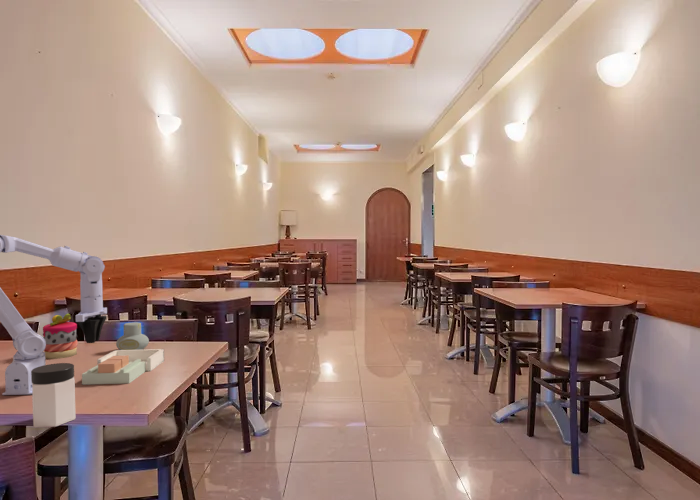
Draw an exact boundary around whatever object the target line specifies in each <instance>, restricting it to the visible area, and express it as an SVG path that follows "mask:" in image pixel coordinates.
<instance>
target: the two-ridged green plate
mask: <svg viewBox="0 0 700 500" xmlns="http://www.w3.org/2000/svg"><path fill="white" fill-rule="evenodd" d="M145 372H147V371H146V362H141V359H136V360H135V361H133V362H129V364H127V365H126V366H124V367H123V368H121V369H120V370H118V371H116V372H115V373H98V365H95V366H93V367H91V368H89V369H88V370H87V371H85V372H82V373H81V385H84V386H85V385H108V384H109V385H111V384H113V385H114V384H115V385H116V384H120V385H121V384H131V383H132V382H133V381H135V380H136V379H137V378H139V377H140V376H141V375H143V374H145Z"/></svg>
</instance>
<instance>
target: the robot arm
mask: <svg viewBox="0 0 700 500" xmlns="http://www.w3.org/2000/svg"><path fill="white" fill-rule="evenodd" d="M14 252H18V253H22V254H26V255H31V256H34V257H39V258H42V259H46V260H48V261H49V263H50V264H51V266H54V267H57V268H61V269H65V270H68V271H72V272H76V273H77V272H79V273H80V282H79V285H80V288H79V289H80V312H78V314H76V315H75V323H77V325H78V326H79V328H80V329H81V331H82V332H83V337H84V340H85V342H86V343H87V344H95V343H96V342H99V341H100V337H101V335H102V334H101V333H102V329H103V326H104V323H105V322H106V320H107V316H106V315H107V314H108V307H106V306H105V307H104V301H103V299H104V298H103V292H104V291H103V273H104V271H105V268H106V265H105V264H104V261H103V259H101V258H100V257H99V256H97V255H96V256H95V255H90V254H89V253H88V252H86V251H83V252H80V251H78V250H74V249H71V246H68V245H64V246H58V247H55V248H50V247H47V246H44V245H41V244H37V243H35V242H32V241H29V240H26V239H24V238H23V239H22V238H20V237H16V236H10V235H4V234H0V253H5V254H6V253H14ZM0 323H1V325H2V326H3V327H4V328H5V329H6V331H7V332H8V334H9V335H10V337H11V338H12V346H13V347H14V349H15V350H17V351H16V352H15V353H14V355H13V357H12V358H13V359H12V362H11V363H10V364H8V366H7V367H6V368H5V371H4V376H5V377H4V378H5V380H4V381H5V385H4V387H5V391H4V392H2V396H14V395H15V396H16V395H19V396H20V395H32V382H31V371H32V370H33V369H34V368H37V367H40V366H44V365H47V364H46V358H45V352H44V350H45V347H46V341H45V339H44V338H43V337H44V336H43V335H40V334H39V333H38V332H37V331H36V330H33V329H32V328H31V326H30V325H29V324H28V323H27V321H26V320H25V318H23V316H22V315H21V314H20V312H19V311H18V309H17V308H16V306H14V304H13V303H12V300H10V298H9V297H8V296H7V294H6V293H5V292H4V290H3V289H2V288H1V287H0Z"/></svg>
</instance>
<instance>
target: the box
mask: <svg viewBox="0 0 700 500" xmlns="http://www.w3.org/2000/svg"><path fill="white" fill-rule="evenodd" d="M127 355H129V362H133V361H135V360H136V359H141V362H146V371H145V372H152V371H153V370H154V369H156V368H157V367H158V366H159V365H161V364H162V363H164V362H165V348H155V349H154V348H153V349H150V348H149V349H145V348H144V349H142V350H120V349H116V350H115V349H114V350H113V351H110V352H109V353H107V354H105V355H103V356H101V357H99V358H97V359H96V361H97V365H98V364H99V363H101V362H103V361H105V360H107V359H109V358H110V357H112V356H127ZM97 365H96V366H97Z"/></svg>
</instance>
